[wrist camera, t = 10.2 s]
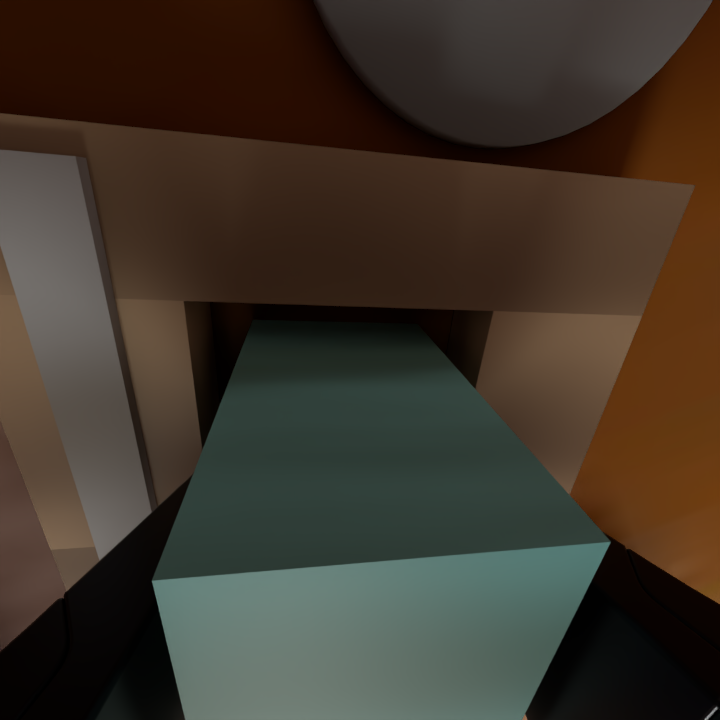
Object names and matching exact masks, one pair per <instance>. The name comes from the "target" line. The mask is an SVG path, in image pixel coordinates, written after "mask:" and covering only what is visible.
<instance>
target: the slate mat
mask: <svg viewBox="0 0 720 720" xmlns="http://www.w3.org/2000/svg"><path fill="white" fill-rule="evenodd" d="M712 1H713V0H313V2H314V4H315V6H316V9H317V11H318V13H319V15H320V17H321V20H322V22H323V24H324V26H325V28H326V29H327V31H328V33H329V35H330V36H331V38H332V40H333V41H334V43H335V45H336V46H337V48H338V50H339V51H340V53H341V55H342V56H343V58H344V59H345V61H346V62H347V63H348V65H349V66H350V67H351V68H352V70H353V71H354V72H355V74H356V75H357V76H358V78H359V79H360V80H361V82H362V83H363V84H364V85H365V86H366V87H367V88H368V89H369V90H370V91H371V92H372V93H373V94H374V95H375V96H376V97H377V98H378V99H379V100H380V101H381V102H382V103H383V104H384V105H385V106H386V107H387V108H389V109H390V110H391V111H393V112H394V113H395V114H396V115H398V116H399V117H400V118H402V119H403V120H404V121H406V122H407V123H409V124H411V125H412V126H414V127H416V128H418V129H420V130H421V131H423V132H425V133H427V134H428V135H431V136H433V137H436V138H439V139H442V140H444V141H447V142H450V143H452V144H457V145H463V146H468V147H473V148H488V149H503V148H511V147H519V146H525V145H530V144H535V143H539V142H543V141H546V140H550V139H553V138H557V137H560V136H564V135H566V134H568V133H571V132H573V131H575V130H577V129H580V128H582V127H584V126H586V125H589V124H590V123H592V122H594V121H595V120H597V119H599V118H600V117H602V116H604V115H605V114H607V113H609V112H610V111H612V110H614V109H615V108H616V107H617V106H619V105H620V104H621V103H623V102H624V101H625V100H626V99H628V98H629V97H630V96H632V95H633V94H634V93H635V92H637V91H638V90H639V89H640V88H641V87H642V86H643V85H644V84H645V83H646V82H647V81H648V80H649V79H651V78H652V77H653V76H654V75H655V74H656V73H657V72H658V71H659V70H660V69H661V68H662V67H663V66H664V65H665V63H666V62H667V61H668V60H669V59H670V58H671V56H672V55H673V54H674V53H675V52H676V51H677V49H678V48H679V47H680V46H681V45H682V44H683V42H684V41H685V40H686V38H687V37H688V36H689V34H690V33H691V31H692V30H693V29H694V27H695V26H696V24H697V23H698V22H699V20H700V19H701V17H702V16H703V15H704V13H705V12H706V10H707V9H708V7H709V6H710V4H711V2H712Z"/></svg>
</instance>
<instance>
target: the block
mask: <svg viewBox="0 0 720 720" xmlns="http://www.w3.org/2000/svg"><path fill="white" fill-rule="evenodd" d="M610 543H611V541H610V540H609V539H608V538H607V537H606V536H605V535H604V533H603V532H602V531H601V530H600V529H599V528H598V527H597V526H596V524H595V523H594V522H593V521H592V520H591V519H590V518H589V517H588V515H587V514H586V513H585V512H584V511H583V510H582V509H581V508H580V506H579V505H578V504H577V503H576V502H575V501H574V500H573V499H572V497H571V496H570V495H569V494H568V493H567V492H566V491H565V490H564V488H563V487H562V486H561V485H560V484H559V483H558V482H557V481H556V479H555V478H554V477H553V476H552V475H551V474H550V473H549V472H548V470H547V469H546V468H545V467H544V466H543V465H542V464H541V463H540V461H539V460H538V459H537V458H536V457H535V456H534V455H533V454H532V452H531V451H530V450H529V449H528V448H527V447H526V446H525V445H524V443H523V442H522V441H521V440H520V439H519V438H518V437H517V436H516V434H515V433H514V432H513V431H512V430H511V429H510V428H509V427H508V425H507V424H506V423H505V422H504V421H503V420H502V419H501V417H500V416H499V415H498V414H497V413H496V412H495V411H494V410H493V408H492V407H491V406H490V405H489V404H488V403H487V402H486V401H485V399H484V398H483V397H482V396H481V395H480V394H479V393H478V392H477V390H476V389H475V388H474V387H473V386H472V385H471V384H470V383H469V381H468V380H467V379H466V378H465V377H464V376H463V375H462V374H461V372H460V371H459V370H458V369H457V368H456V367H455V366H454V365H453V363H452V362H451V361H450V360H449V359H448V358H447V357H446V356H445V354H444V353H443V352H442V351H441V350H440V349H439V348H438V347H437V345H436V344H435V343H434V342H433V341H432V340H431V339H430V338H429V336H428V335H427V334H426V333H425V332H424V331H423V330H422V329H421V327H420V326H419V325H418V324H409V323H368V322H327V321H286V320H252V323H251V326H250V328H249V331H248V333H247V336H246V339H245V341H244V344H243V346H242V349H241V352H240V354H239V357H238V359H237V362H236V364H235V367H234V370H233V372H232V375H231V377H230V380H229V383H228V385H227V388H226V390H225V393H224V396H223V398H222V401H221V403H220V406H219V408H218V411H217V414H216V416H215V419H214V421H213V424H212V427H211V429H210V432H209V434H208V437H207V440H206V442H205V445H204V447H203V450H202V452H201V455H200V458H199V460H198V463H197V465H196V468H195V471H194V473H193V476H192V478H191V481H190V484H189V486H188V489H187V491H186V494H185V497H184V499H183V502H182V504H181V507H180V509H179V512H178V515H177V517H176V520H175V522H174V525H173V528H172V530H171V533H170V535H169V538H168V541H167V543H166V546H165V548H164V551H163V553H162V556H161V559H160V561H159V564H158V566H157V569H156V572H155V574H154V577H153V579H152V583H153V587H154V591H155V595H156V600H157V604H158V608H159V612H160V616H161V621H162V625H163V629H164V633H165V637H166V641H167V646H168V650H169V654H170V658H171V662H172V666H173V671H174V675H175V679H176V683H177V687H178V691H179V696H180V700H181V704H182V708H183V712H184V716H185V720H522V719H523V717H524V715H525V713H526V711H527V709H528V707H529V705H530V703H531V701H532V699H533V697H534V695H535V693H536V691H537V689H538V687H539V685H540V683H541V681H542V679H543V677H544V675H545V673H546V671H547V669H548V667H549V665H550V663H551V661H552V659H553V657H554V655H555V653H556V651H557V649H558V647H559V645H560V643H561V641H562V639H563V637H564V635H565V633H566V631H567V629H568V627H569V625H570V623H571V621H572V619H573V617H574V615H575V613H576V611H577V609H578V607H579V605H580V603H581V601H582V599H583V597H584V595H585V593H586V591H587V589H588V587H589V585H590V583H591V581H592V579H593V577H594V575H595V573H596V571H597V569H598V567H599V565H600V563H601V561H602V559H603V557H604V555H605V553H606V551H607V549H608V547H609V545H610Z"/></svg>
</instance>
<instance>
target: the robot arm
mask: <svg viewBox="0 0 720 720" xmlns="http://www.w3.org/2000/svg"><path fill="white" fill-rule="evenodd" d="M192 476H193V474H192V475H191V476H190V477H189V478H188V479H187V480H186V481H185V482H184V483H183V484H182V485H180V486H179V487H178V488H177V489H176V490H175V491H174V492H173V493H172V494H171V495H170V496H169V497H168V498H166V499H165V500H164V501H163V502H162V503H161V504H160V505H159V506H158V507H157V508H156V509H155V510H154V511H152V512H151V513H150V514H149V515H148V516H147V517H146V518H145V519H144V520H143V521H142V522H141V523H140V524H138V525H137V526H136V527H135V528H134V529H133V530H132V531H131V532H130V533H129V534H128V535H127V536H126V537H124V538H123V539H122V540H121V541H120V542H119V543H118V544H117V545H116V546H115V547H114V548H113V549H112V550H111V551H109V552H108V553H107V554H106V555H105V556H104V557H103V558H102V559H101V560H100V561H99V562H98V563H97V564H95V565H94V566H93V567H92V568H91V569H90V570H89V571H88V572H87V573H86V574H85V575H84V576H83V577H81V578H80V579H79V580H78V581H77V582H76V583H75V584H74V585H73V586H72V587H71V588H70V589H69V590H67V591H66V592H65V594H64V599H63V598H59V599H58V600H56V601H55V602H54V603H53V604H52V605H51V606H50V607H49V608H48V609H47V610H46V611H45V612H44V613H42V614H41V615H40V616H39V617H38V618H37V619H36V620H35V621H34V622H33V623H32V624H31V625H29V626H28V627H27V628H26V629H25V630H24V631H23V632H22V633H21V634H19V635H18V636H17V637H16V638H15V639H14V640H13V641H12V642H11V643H9V644H8V645H7V646H6V647H5V648H4V649H3V650H2V651H0V720H185V716H184V712H183V708H182V704H181V700H180V696H179V691H178V687H177V683H176V679H175V675H174V671H173V666H172V662H171V658H170V654H169V650H168V646H167V641H166V637H165V633H164V629H163V625H162V621H161V616H160V612H159V608H158V604H157V600H156V595H155V591H154V587H153V583H152V579H153V577H154V574H155V572H156V569H157V566H158V564H159V561H160V559H161V556H162V553H163V551H164V548H165V546H166V543H167V541H168V538H169V535H170V533H171V530H172V528H173V525H174V522H175V520H176V517H177V515H178V512H179V509H180V507H181V504H182V502H183V499H184V497H185V494H186V491H187V489H188V486H189V484H190V481H191V478H192ZM603 533H604V532H603ZM604 535H605V536H606V537H607V538H608V539H609V540H610V541H611V543H610V545H609V547H608V549H607V551H606V553H605V555H604V557H603V559H602V561H601V563H600V565H599V567H598V569H597V571H596V573H595V575H594V577H593V579H592V581H591V583H590V585H589V587H588V589H587V591H586V593H585V595H584V597H583V599H582V601H581V603H580V605H579V607H578V609H577V611H576V613H575V615H574V617H573V619H572V621H571V623H570V625H569V627H568V629H567V631H566V633H565V635H564V637H563V639H562V641H561V643H560V645H559V647H558V649H557V651H556V653H555V655H554V657H553V659H552V661H551V663H550V665H549V667H548V669H547V671H546V673H545V675H544V677H543V679H542V681H541V683H540V685H539V687H538V689H537V691H536V693H535V695H534V697H533V699H532V701H531V703H530V705H529V707H528V709H527V711H526V713H525V715H526V717H527V720H720V604H718V603H717V602H715V601H713V600H712V599H710V598H708V597H706V596H705V595H703V594H701V593H700V592H698V591H696V590H695V589H693V588H691V587H689V586H688V585H686V584H685V583H683V582H681V581H680V580H678V579H677V578H675V577H673V576H672V575H670V574H669V573H667V572H665V571H664V570H662V569H660V568H659V567H657V566H656V565H654V564H652V563H651V562H649V561H648V560H646V559H645V558H643V557H642V556H640V555H638V554H637V553H635V552H634V551H632V550H631V549H626V548H625V546H624V545H623V544H621V543H620V542H618V541H616V540H615V539H613V538H612V537H610V536H609V535H607V534H605V533H604Z"/></svg>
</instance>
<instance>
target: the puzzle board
mask: <svg viewBox="0 0 720 720" xmlns="http://www.w3.org/2000/svg"><path fill="white" fill-rule="evenodd" d="M694 187H695V185H688V184H678V183H668V182H659V181H649V180H640V179H630V178H620V177H611V176H601V175H591V174H582V173H572V172H562V171H553V170H543V169H534V168H524V167H514V166H505V165H495V164H485V163H476V162H466V161H456V160H447V159H437V158H428V157H418V156H408V155H399V154H389V153H379V152H370V151H360V150H350V149H341V148H331V147H322V146H312V145H302V144H293V143H283V142H273V141H264V140H254V139H244V138H235V137H225V136H216V135H206V134H196V133H187V132H177V131H167V130H158V129H148V128H138V127H129V126H119V125H110V124H100V123H90V122H81V121H71V120H61V119H52V118H42V117H32V116H23V115H13V114H4V113H0V421H1V423H2V426H3V428H4V431H5V434H6V436H7V439H8V441H9V444H10V446H11V449H12V452H13V454H14V457H15V459H16V462H17V464H18V467H19V470H20V472H21V475H22V477H23V480H24V482H25V485H26V488H27V490H28V493H29V495H30V498H31V501H32V503H33V506H34V508H35V511H36V513H37V516H38V519H39V521H40V524H41V526H42V529H43V531H44V534H45V537H46V539H47V542H48V544H49V547H50V549H51V552H52V555H53V557H54V560H55V562H56V565H57V567H58V570H59V573H60V575H61V578H62V580H63V583H64V586H65V588H66V591H67V590H69V589H70V588H71V587H72V586H73V585H74V584H75V583H76V582H77V581H78V580H79V579H80V578H81V577H83V576H84V575H85V574H86V573H87V572H88V571H89V570H90V569H91V568H92V567H93V566H94V565H95V564H97V563H98V562H99V561H100V560H101V559H102V558H103V557H104V556H105V555H106V554H107V553H108V552H109V551H111V550H112V549H113V548H114V547H115V546H116V545H117V544H118V543H119V542H120V541H121V540H122V539H123V538H124V537H126V536H127V535H128V534H129V533H130V532H131V531H132V530H133V529H134V528H135V527H136V526H137V525H138V524H140V523H141V522H142V521H143V520H144V519H145V518H146V517H147V516H148V515H149V514H150V513H151V512H152V511H154V510H155V509H156V508H157V507H158V506H159V505H160V504H161V503H162V502H163V501H164V500H165V499H166V498H168V497H169V496H170V495H171V494H172V493H173V492H174V491H175V490H176V489H177V488H178V487H179V486H180V485H182V484H183V483H184V482H185V481H186V480H187V479H188V478H189V477H190V476H191V475H192V474H193V473H194V471H195V468H196V465H197V463H198V460H199V458H200V455H201V452H202V450H203V447H204V445H205V442H206V440H207V437H208V434H209V432H210V429H211V427H212V424H213V421H214V419H215V416H216V414H217V411H218V408H219V406H220V402H219V392H218V381H217V371H216V360H215V350H214V339H213V329H212V318H211V308H210V302H232V303H263V304H293V305H324V306H354V307H385V308H415V309H446V310H454V315H453V320H452V325H451V331H450V336H449V341H448V347H447V352H446V357H447V358H448V359H449V360H450V361H451V362H452V363H453V365H454V366H455V367H456V368H457V369H458V370H459V371H460V372H461V374H462V375H463V376H464V377H465V378H466V379H467V380H468V381H469V383H470V384H471V385H472V386H473V387H474V388H475V389H476V390H477V392H478V393H479V394H480V395H481V396H482V397H483V398H484V399H485V401H486V402H487V403H488V404H489V405H490V406H491V407H492V408H493V410H494V411H495V412H496V413H497V414H498V415H499V416H500V417H501V419H502V420H503V421H504V422H505V423H506V424H507V425H508V427H509V428H510V429H511V430H512V431H513V432H514V433H515V434H516V436H517V437H518V438H519V439H520V440H521V441H522V442H523V443H524V445H525V446H526V447H527V448H528V449H529V450H530V451H531V452H532V454H533V455H534V456H535V457H536V458H537V459H538V460H539V461H540V463H541V464H542V465H543V466H544V467H545V468H546V469H547V470H548V472H549V473H550V474H551V475H552V476H553V477H554V478H555V479H556V481H557V482H558V483H559V484H560V485H561V486H562V487H563V488H564V490H565V491H566V492H567V493H568V494H570V492H571V489H572V487H573V485H574V482H575V480H576V477H577V475H578V472H579V470H580V467H581V465H582V462H583V460H584V457H585V455H586V453H587V450H588V448H589V445H590V443H591V440H592V438H593V435H594V433H595V430H596V428H597V425H598V423H599V421H600V418H601V416H602V413H603V411H604V408H605V406H606V403H607V401H608V398H609V396H610V393H611V391H612V389H613V386H614V384H615V381H616V379H617V376H618V374H619V371H620V369H621V366H622V364H623V362H624V359H625V357H626V354H627V352H628V349H629V347H630V344H631V342H632V339H633V337H634V334H635V332H636V330H637V327H638V325H639V322H640V320H641V317H642V315H643V312H644V310H645V307H646V305H647V302H648V300H649V298H650V295H651V293H652V290H653V288H654V285H655V283H656V280H657V278H658V275H659V273H660V270H661V268H662V266H663V263H664V261H665V258H666V256H667V253H668V251H669V248H670V246H671V243H672V241H673V238H674V236H675V234H676V231H677V229H678V226H679V224H680V221H681V219H682V216H683V214H684V211H685V209H686V206H687V204H688V202H689V199H690V197H691V194H692V192H693V189H694Z"/></svg>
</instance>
